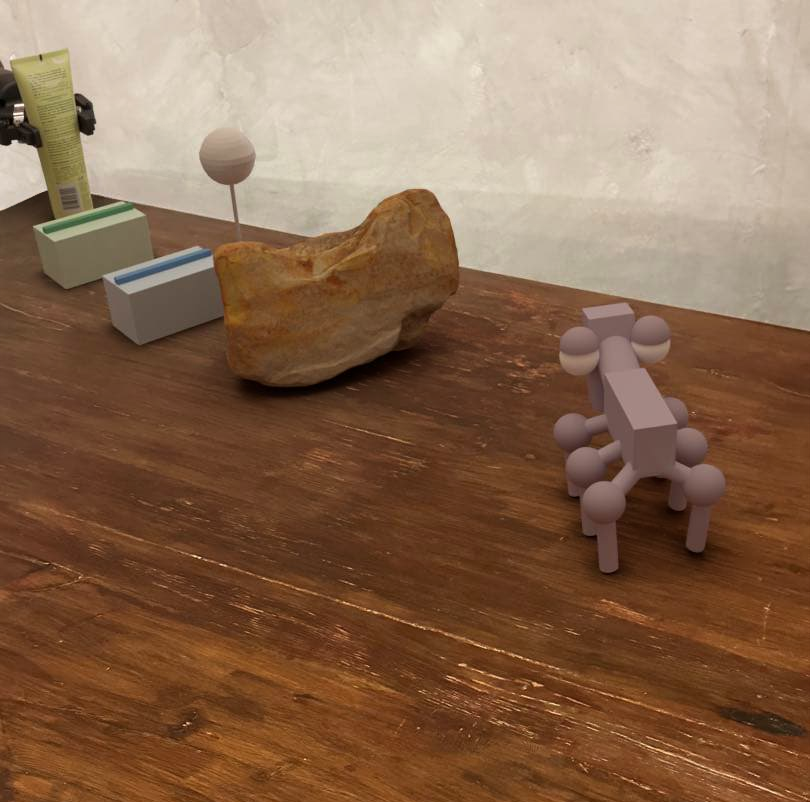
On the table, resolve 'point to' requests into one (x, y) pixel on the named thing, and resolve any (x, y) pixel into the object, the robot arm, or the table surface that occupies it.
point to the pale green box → (93, 243)
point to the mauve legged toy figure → (630, 428)
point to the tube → (55, 128)
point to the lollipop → (228, 161)
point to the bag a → (164, 295)
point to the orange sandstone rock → (337, 293)
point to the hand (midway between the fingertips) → (64, 132)
